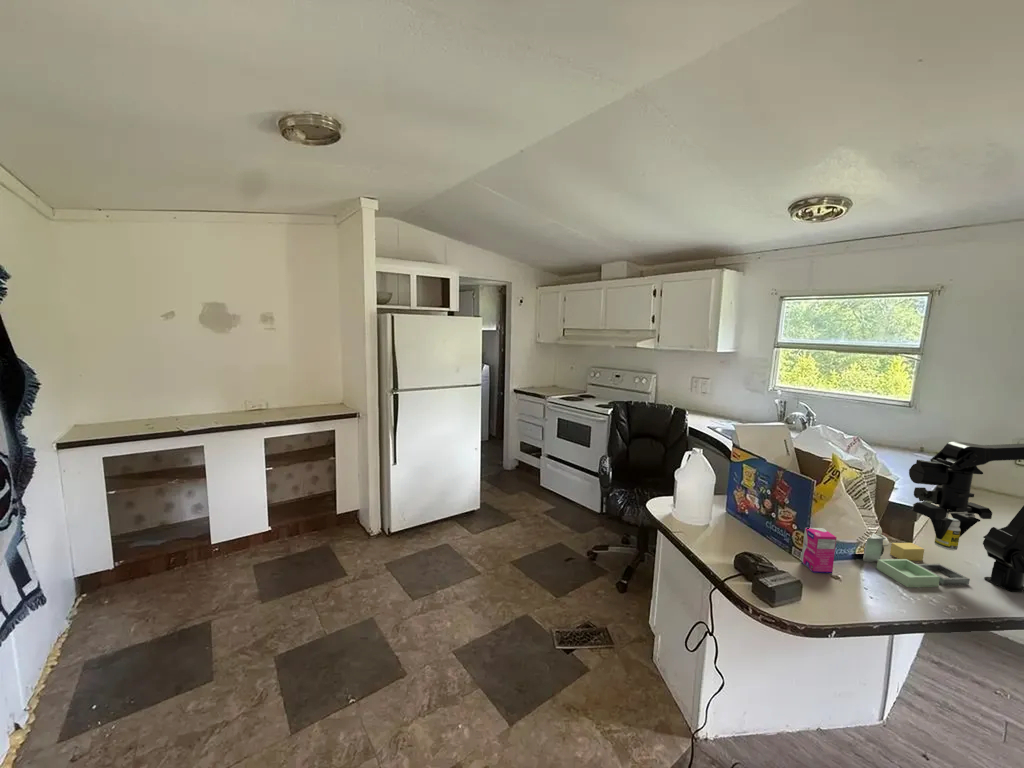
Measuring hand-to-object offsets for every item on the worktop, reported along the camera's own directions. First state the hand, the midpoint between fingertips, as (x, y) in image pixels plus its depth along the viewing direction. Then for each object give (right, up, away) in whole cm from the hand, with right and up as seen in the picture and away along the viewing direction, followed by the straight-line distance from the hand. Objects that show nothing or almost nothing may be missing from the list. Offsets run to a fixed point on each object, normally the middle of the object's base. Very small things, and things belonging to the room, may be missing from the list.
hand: (947, 538), depth 124 cm
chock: (0, -11, +12) cm, 16 cm away
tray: (-11, -12, 0) cm, 16 cm away
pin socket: (0, -12, +1) cm, 12 cm away
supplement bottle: (0, -3, 0) cm, 3 cm away
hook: (-1, -9, +24) cm, 26 cm away
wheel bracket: (-13, -10, +11) cm, 20 cm away
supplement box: (-35, -10, +4) cm, 37 cm away
